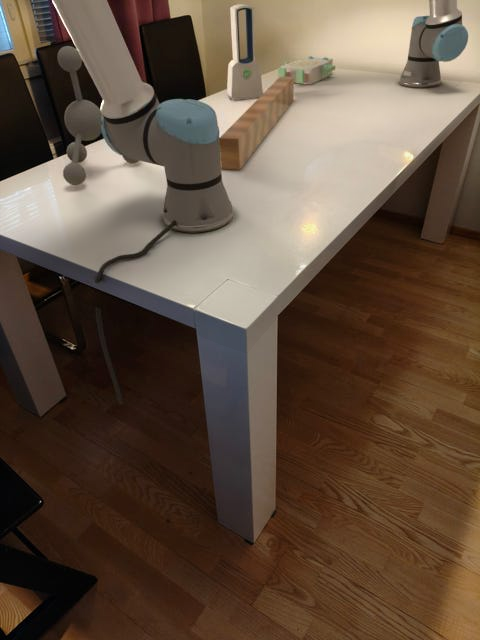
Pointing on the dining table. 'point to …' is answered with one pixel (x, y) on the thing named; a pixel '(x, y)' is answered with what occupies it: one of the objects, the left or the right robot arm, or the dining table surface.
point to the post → (255, 124)
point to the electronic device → (243, 71)
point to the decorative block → (307, 69)
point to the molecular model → (79, 120)
